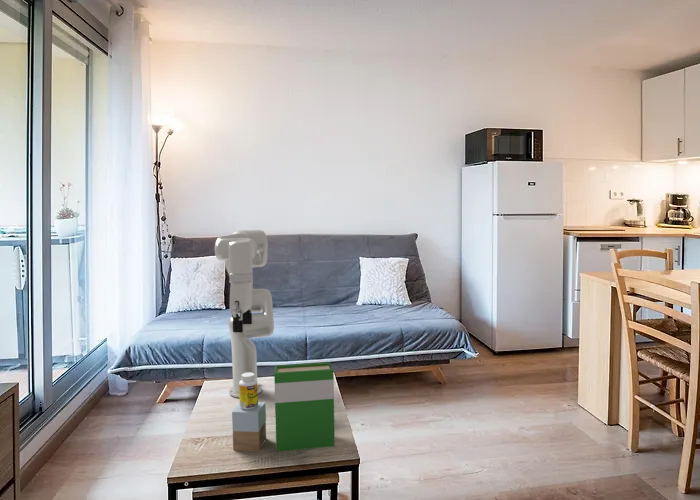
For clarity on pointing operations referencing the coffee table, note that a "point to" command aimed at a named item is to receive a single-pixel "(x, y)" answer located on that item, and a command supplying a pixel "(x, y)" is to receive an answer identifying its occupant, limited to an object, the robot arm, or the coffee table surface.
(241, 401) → the supplement bottle
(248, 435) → the walnut block
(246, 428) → the slate block
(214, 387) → the coffee table surface
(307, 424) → the hardback book
